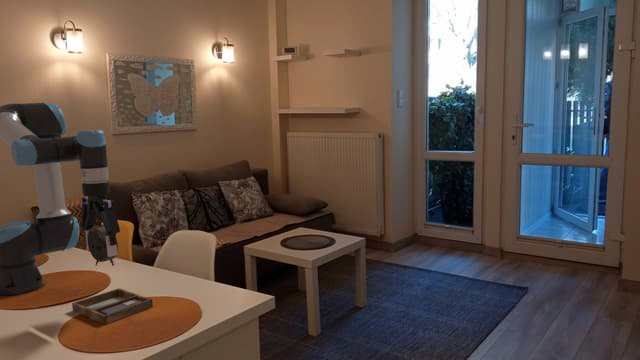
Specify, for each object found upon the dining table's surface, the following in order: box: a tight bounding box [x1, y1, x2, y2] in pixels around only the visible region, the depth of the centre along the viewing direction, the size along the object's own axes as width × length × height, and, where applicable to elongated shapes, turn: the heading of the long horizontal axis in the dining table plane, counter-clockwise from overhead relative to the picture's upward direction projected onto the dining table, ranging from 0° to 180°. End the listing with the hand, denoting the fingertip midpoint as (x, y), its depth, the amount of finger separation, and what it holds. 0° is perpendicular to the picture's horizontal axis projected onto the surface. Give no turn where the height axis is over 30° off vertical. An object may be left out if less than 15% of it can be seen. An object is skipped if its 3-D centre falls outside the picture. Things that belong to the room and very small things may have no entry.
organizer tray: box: [71, 287, 154, 325], centre depth 157 cm, size 18×16×3 cm
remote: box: [101, 299, 141, 315], centre depth 154 cm, size 4×11×2 cm, turn 142°
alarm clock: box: [86, 213, 119, 267], centre depth 157 cm, size 11×5×16 cm, turn 50°
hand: (102, 252), depth 157 cm, fingers closed on alarm clock, 11 cm apart
